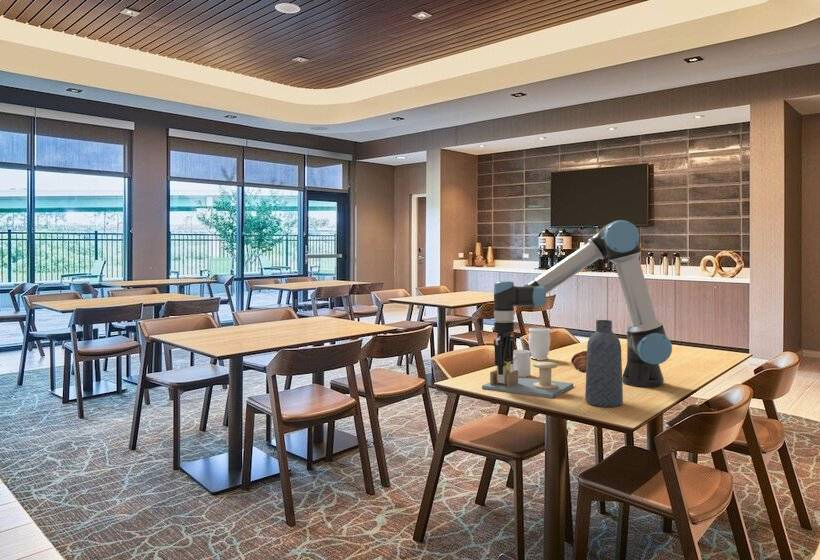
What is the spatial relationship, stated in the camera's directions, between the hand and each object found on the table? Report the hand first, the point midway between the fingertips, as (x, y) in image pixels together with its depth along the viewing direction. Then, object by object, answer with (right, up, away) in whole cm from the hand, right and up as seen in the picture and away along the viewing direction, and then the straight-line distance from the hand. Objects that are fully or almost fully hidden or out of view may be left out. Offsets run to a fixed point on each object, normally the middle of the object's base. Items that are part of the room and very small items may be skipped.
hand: (504, 381), depth 223 cm
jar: (+27, 0, +60) cm, 66 cm away
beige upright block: (0, 0, 0) cm, 0 cm away
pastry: (+43, -1, +36) cm, 56 cm away
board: (+9, -2, -1) cm, 9 cm away
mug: (+9, -2, +20) cm, 22 cm away
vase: (+30, -3, -26) cm, 40 cm away
